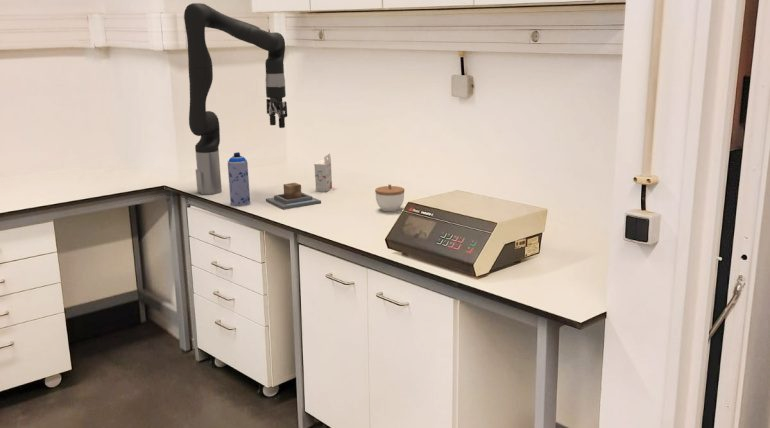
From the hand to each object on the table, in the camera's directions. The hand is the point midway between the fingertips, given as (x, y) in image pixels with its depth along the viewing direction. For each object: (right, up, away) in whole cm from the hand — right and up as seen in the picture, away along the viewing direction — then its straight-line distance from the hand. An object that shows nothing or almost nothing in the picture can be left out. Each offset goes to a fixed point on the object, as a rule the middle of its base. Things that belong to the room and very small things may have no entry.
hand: (277, 126), depth 283 cm
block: (+7, -29, -6) cm, 31 cm away
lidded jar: (+45, -33, -19) cm, 59 cm away
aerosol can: (-13, -31, -7) cm, 34 cm away
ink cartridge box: (+17, -25, +14) cm, 34 cm away
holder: (+7, -30, -6) cm, 32 cm away
